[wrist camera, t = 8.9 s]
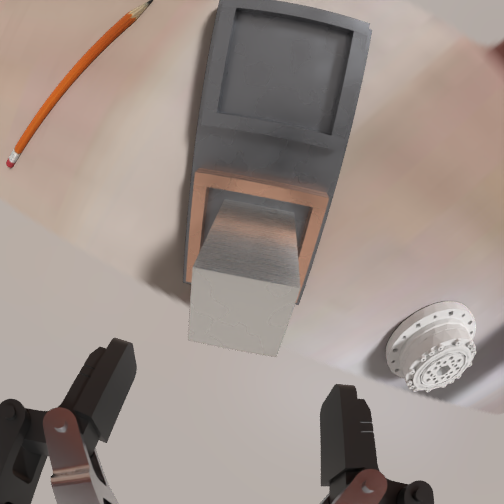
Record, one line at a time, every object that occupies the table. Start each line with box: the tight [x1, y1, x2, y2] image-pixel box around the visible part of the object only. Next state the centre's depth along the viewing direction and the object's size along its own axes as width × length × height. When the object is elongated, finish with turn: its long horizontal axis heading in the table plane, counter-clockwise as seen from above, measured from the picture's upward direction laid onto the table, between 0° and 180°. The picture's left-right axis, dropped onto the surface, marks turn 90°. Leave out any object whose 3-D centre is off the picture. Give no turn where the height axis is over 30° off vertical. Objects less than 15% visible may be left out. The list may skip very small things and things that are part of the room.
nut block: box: [188, 199, 300, 357], centre depth 17 cm, size 4×4×8 cm
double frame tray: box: [183, 0, 372, 305], centre depth 18 cm, size 9×20×2 cm, turn 170°
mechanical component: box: [385, 301, 477, 392], centre depth 24 cm, size 10×4×10 cm
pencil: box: [6, 0, 153, 168], centre depth 17 cm, size 1×19×1 cm, turn 124°
